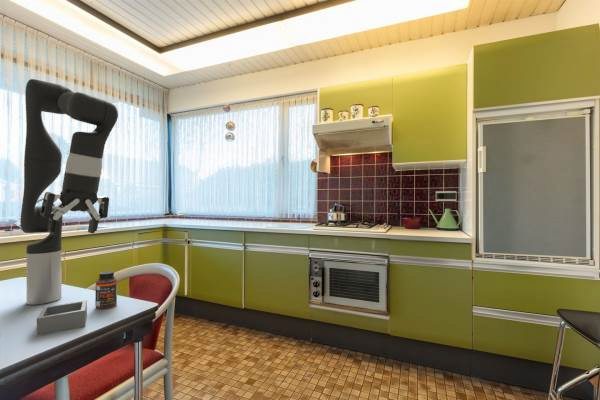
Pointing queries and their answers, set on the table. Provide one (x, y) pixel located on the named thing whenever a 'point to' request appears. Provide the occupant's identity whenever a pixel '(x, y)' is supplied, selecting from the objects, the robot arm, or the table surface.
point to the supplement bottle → (106, 290)
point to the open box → (62, 317)
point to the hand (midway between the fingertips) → (73, 233)
